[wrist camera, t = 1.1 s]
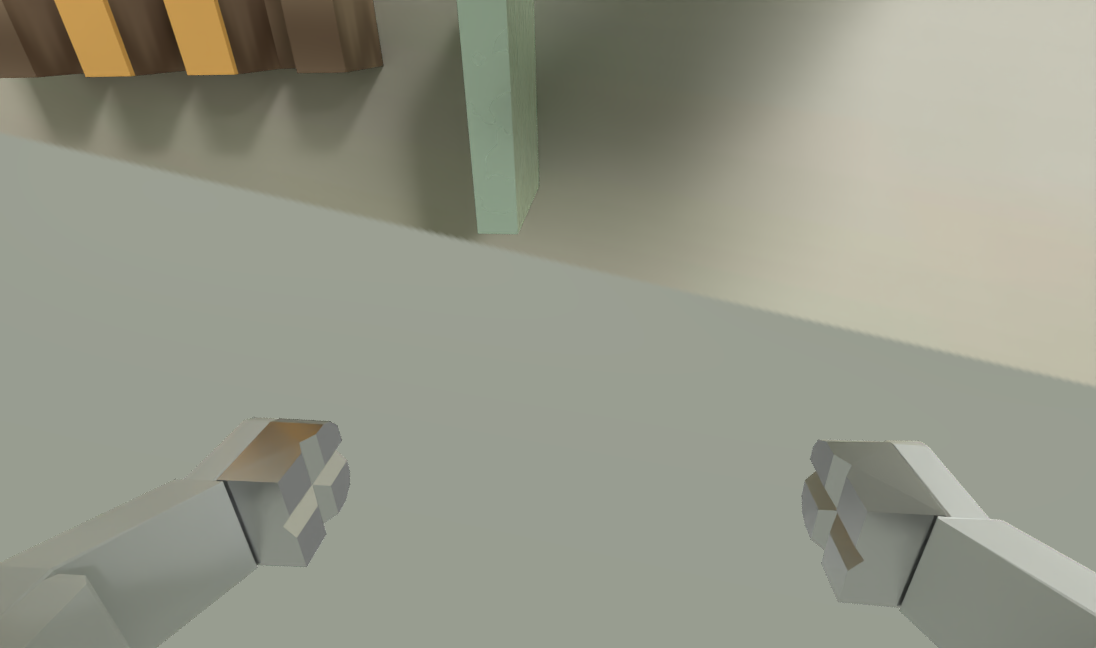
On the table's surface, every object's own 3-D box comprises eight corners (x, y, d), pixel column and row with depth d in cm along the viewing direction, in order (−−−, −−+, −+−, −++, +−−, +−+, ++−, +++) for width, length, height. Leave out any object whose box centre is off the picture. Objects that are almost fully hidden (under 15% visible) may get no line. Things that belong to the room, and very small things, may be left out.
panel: (495, -42, 28) (450, -69, 20) (532, -44, 27) (502, -71, 20) (508, 185, 34) (477, 233, 26) (539, 185, 33) (518, 234, 26)
